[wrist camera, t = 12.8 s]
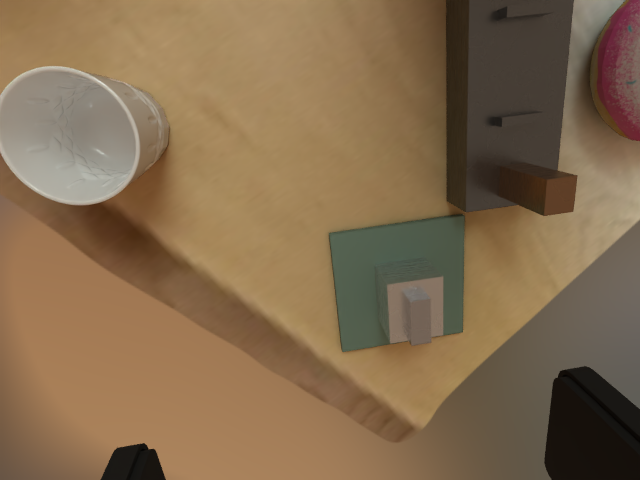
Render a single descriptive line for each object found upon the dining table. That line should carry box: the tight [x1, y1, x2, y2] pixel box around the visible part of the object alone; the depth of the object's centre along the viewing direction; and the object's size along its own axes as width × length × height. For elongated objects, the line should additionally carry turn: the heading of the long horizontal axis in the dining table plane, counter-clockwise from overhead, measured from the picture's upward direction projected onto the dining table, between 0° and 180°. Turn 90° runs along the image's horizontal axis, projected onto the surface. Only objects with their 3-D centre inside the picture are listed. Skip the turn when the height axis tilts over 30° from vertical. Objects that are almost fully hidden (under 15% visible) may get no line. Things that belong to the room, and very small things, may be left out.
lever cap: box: [375, 257, 443, 346], centre depth 37 cm, size 6×5×6 cm
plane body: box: [446, 0, 577, 216], centre depth 30 cm, size 22×8×10 cm, turn 6°
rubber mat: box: [329, 214, 465, 352], centre depth 40 cm, size 13×13×1 cm
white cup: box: [0, 66, 169, 205], centre depth 28 cm, size 8×8×10 cm
